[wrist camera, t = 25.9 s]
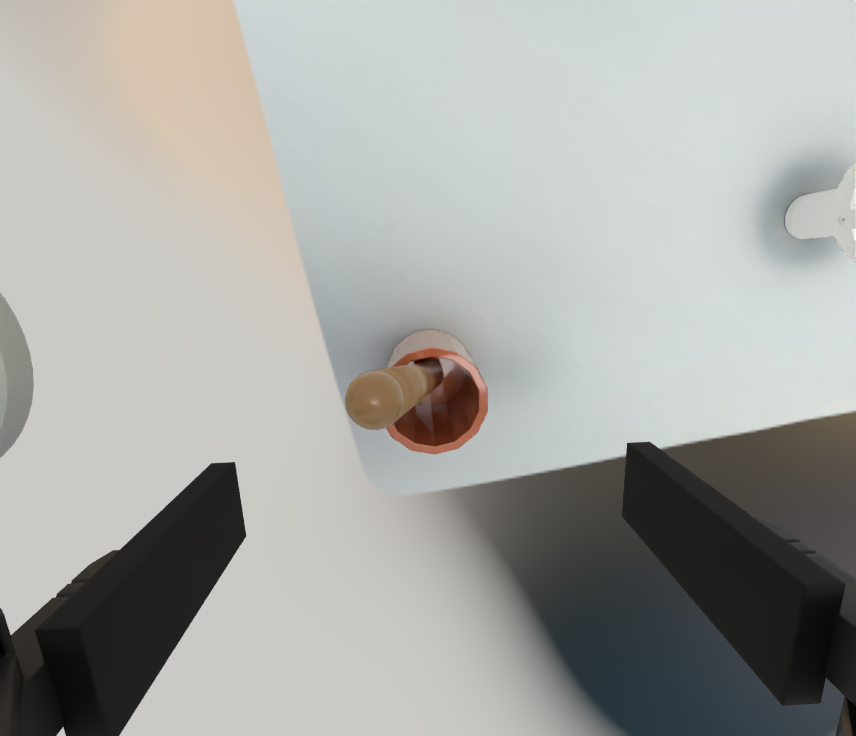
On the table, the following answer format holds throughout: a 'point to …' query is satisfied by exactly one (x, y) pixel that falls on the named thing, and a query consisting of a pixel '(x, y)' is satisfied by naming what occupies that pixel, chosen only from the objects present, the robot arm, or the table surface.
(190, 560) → the robot arm
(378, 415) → the stick
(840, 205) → the white cylindrical cage
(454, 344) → the utensil pot
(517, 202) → the table surface
